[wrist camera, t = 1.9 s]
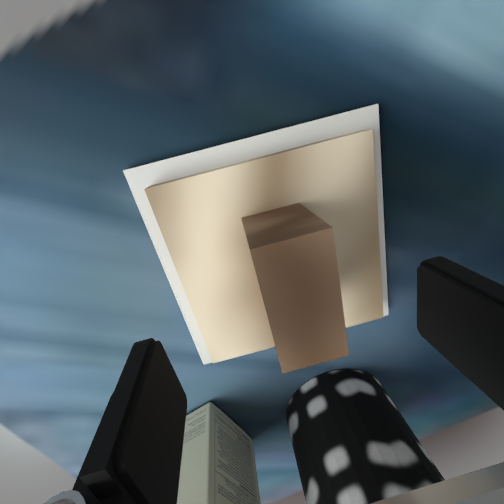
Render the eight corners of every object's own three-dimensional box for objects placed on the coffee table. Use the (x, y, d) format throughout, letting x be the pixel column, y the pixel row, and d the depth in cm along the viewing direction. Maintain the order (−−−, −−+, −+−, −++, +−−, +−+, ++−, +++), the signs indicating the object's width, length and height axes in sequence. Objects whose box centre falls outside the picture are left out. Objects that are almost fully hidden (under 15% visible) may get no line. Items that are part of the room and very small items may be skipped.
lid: (360, 130, 14) (445, 120, 8) (373, 306, 18) (435, 372, 13) (150, 185, 13) (106, 210, 8) (213, 349, 18) (210, 434, 13)
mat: (372, 105, 14) (378, 103, 13) (383, 309, 19) (388, 314, 18) (126, 169, 14) (122, 170, 13) (204, 358, 19) (203, 364, 18)
